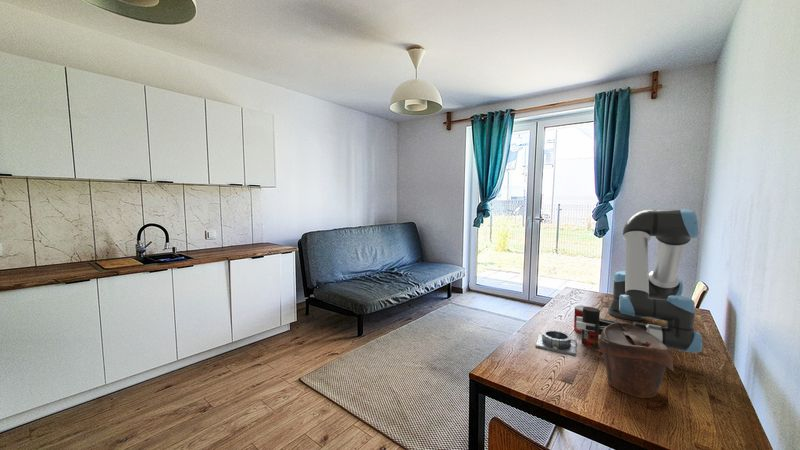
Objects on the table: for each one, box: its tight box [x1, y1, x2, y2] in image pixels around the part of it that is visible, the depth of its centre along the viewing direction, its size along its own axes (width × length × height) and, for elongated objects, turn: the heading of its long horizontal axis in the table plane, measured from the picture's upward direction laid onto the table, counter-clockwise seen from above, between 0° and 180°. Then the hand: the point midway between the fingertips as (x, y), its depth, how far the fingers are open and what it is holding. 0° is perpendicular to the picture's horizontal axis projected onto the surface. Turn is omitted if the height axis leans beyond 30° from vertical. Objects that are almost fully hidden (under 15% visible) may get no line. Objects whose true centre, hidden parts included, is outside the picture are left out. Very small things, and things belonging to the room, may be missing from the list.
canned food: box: [573, 305, 589, 335], centre depth 141 cm, size 8×8×11 cm
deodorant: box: [581, 306, 601, 349], centre depth 128 cm, size 6×6×15 cm
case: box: [598, 322, 675, 399], centre depth 98 cm, size 18×20×18 cm
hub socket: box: [535, 329, 577, 356], centre depth 128 cm, size 14×14×4 cm
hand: (576, 322), depth 130 cm, fingers closed on deodorant, 6 cm apart
